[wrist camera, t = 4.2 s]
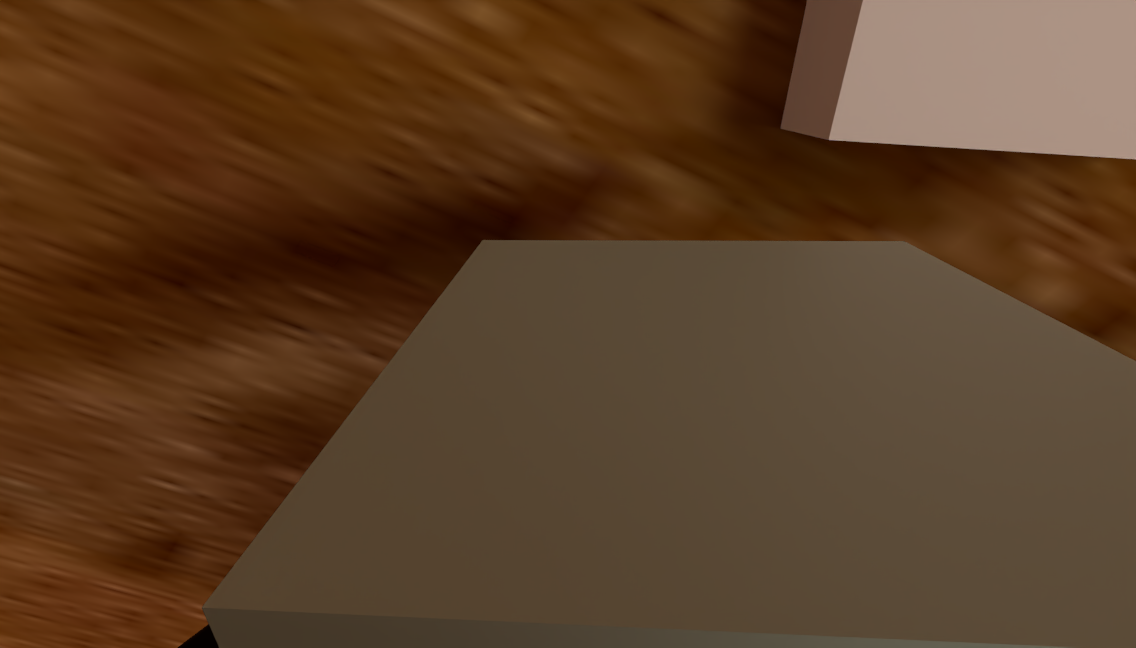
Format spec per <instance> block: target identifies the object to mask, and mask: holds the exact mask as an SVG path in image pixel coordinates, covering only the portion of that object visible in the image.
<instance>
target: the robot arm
mask: <svg viewBox="0 0 1136 648" xmlns="http://www.w3.org/2000/svg"><path fill="white" fill-rule="evenodd" d="M178 648H219V646H218V644H217V641H216V639H215V637H214V635H213V632H212V630H211V628H210V625H209V624H208V625H207V626H206V627H204V628H203V629H202V630H200V631H199V632H198V633H196V634H195V635H194V636H192V637H191V638H190V639H188V640H187V641H186V642H184V643H183V644H182V645H180V646H179V647H178Z"/></svg>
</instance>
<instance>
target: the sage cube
mask: <svg viewBox="0 0 1136 648" xmlns="http://www.w3.org/2000/svg"><path fill="white" fill-rule="evenodd" d="M202 609H203V612H204V614H205V616H206V618H207V621H208V623H209V625H210V628H211V630H212V632H213V635H214V637H215V639H216V641H217V644H218V646H219V648H1136V361H1134V360H1132V359H1130V358H1128V357H1126V356H1124V355H1122V354H1120V353H1119V352H1117V351H1115V350H1113V349H1111V348H1109V347H1107V346H1105V345H1103V344H1101V343H1099V342H1097V341H1095V340H1093V339H1092V338H1090V337H1088V336H1086V335H1084V334H1082V333H1080V332H1078V331H1076V330H1074V329H1072V328H1070V327H1068V326H1066V325H1065V324H1063V323H1061V322H1059V321H1057V320H1055V319H1053V318H1051V317H1049V316H1047V315H1045V314H1043V313H1041V312H1039V311H1038V310H1036V309H1034V308H1032V307H1030V306H1028V305H1026V304H1024V303H1022V302H1020V301H1018V300H1016V299H1014V298H1012V297H1011V296H1009V295H1007V294H1005V293H1003V292H1001V291H999V290H997V289H995V288H993V287H991V286H989V285H987V284H985V283H984V282H982V281H980V280H978V279H976V278H974V277H972V276H970V275H968V274H966V273H964V272H962V271H960V270H958V269H957V268H955V267H953V266H951V265H949V264H947V263H945V262H943V261H941V260H939V259H937V258H935V257H933V256H931V255H930V254H928V253H926V252H924V251H922V250H920V249H918V248H916V247H914V246H912V245H910V244H908V243H906V242H905V241H590V240H482V242H481V243H480V244H479V246H478V247H477V248H476V250H475V251H474V252H473V254H472V255H471V256H470V257H469V259H468V260H467V261H466V263H465V264H464V265H463V267H462V268H461V269H460V271H459V272H458V273H457V274H456V276H455V277H454V278H453V280H452V281H451V282H450V284H449V285H448V286H447V288H446V289H445V290H444V291H443V293H442V294H441V295H440V297H439V298H438V299H437V301H436V302H435V303H434V305H433V306H432V307H431V308H430V310H429V311H428V312H427V314H426V315H425V316H424V318H423V319H422V320H421V322H420V323H419V324H418V325H417V327H416V328H415V329H414V331H413V332H412V333H411V335H410V336H409V337H408V339H407V340H406V341H405V342H404V344H403V345H402V346H401V348H400V349H399V350H398V352H397V353H396V354H395V356H394V357H393V358H392V360H391V361H390V362H389V363H388V365H387V366H386V367H385V369H384V370H383V371H382V373H381V374H380V375H379V377H378V378H377V379H376V380H375V382H374V383H373V384H372V386H371V387H370V388H369V390H368V391H367V392H366V394H365V395H364V396H363V397H362V399H361V400H360V401H359V403H358V404H357V405H356V407H355V408H354V409H353V411H352V412H351V413H350V414H349V416H348V417H347V418H346V420H345V421H344V422H343V424H342V425H341V426H340V428H339V429H338V430H337V431H336V433H335V434H334V435H333V437H332V438H331V439H330V441H329V442H328V443H327V445H326V446H325V447H324V448H323V450H322V451H321V452H320V454H319V455H318V456H317V458H316V459H315V460H314V462H313V463H312V464H311V465H310V467H309V468H308V469H307V471H306V472H305V473H304V475H303V476H302V477H301V479H300V480H299V481H298V482H297V484H296V485H295V486H294V488H293V489H292V490H291V492H290V493H289V494H288V496H287V497H286V498H285V499H284V501H283V502H282V503H281V505H280V506H279V507H278V509H277V510H276V511H275V513H274V514H273V515H272V516H271V518H270V519H269V520H268V522H267V523H266V524H265V526H264V527H263V528H262V530H261V531H260V532H259V534H258V535H257V536H256V537H255V539H254V540H253V541H252V543H251V544H250V545H249V547H248V548H247V549H246V551H245V552H244V553H243V554H242V556H241V557H240V558H239V560H238V561H237V562H236V564H235V565H234V566H233V568H232V569H231V570H230V571H229V573H228V574H227V575H226V577H225V578H224V579H223V581H222V582H221V583H220V585H219V586H218V587H217V588H216V590H215V591H214V592H213V594H212V595H211V596H210V598H209V599H208V600H207V602H206V603H205V604H204V605H203V607H202Z"/></svg>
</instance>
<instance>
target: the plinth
mask: <svg viewBox="0 0 1136 648" xmlns="http://www.w3.org/2000/svg"><path fill="white" fill-rule="evenodd" d="M780 129H784V130H789V131H793V132H797V133H801V134H806V135H810V136H814V137H818V138H822V139H827V140H838V141H854V142H869V143H885V144H901V145H917V146H933V147H949V148H965V149H981V150H997V151H1013V152H1029V153H1045V154H1061V155H1076V156H1092V157H1108V158H1124V159H1136V0H807V3H806V8H805V13H804V17H803V22H802V27H801V32H800V37H799V41H798V46H797V51H796V56H795V60H794V65H793V70H792V75H791V80H790V84H789V89H788V94H787V99H786V103H785V108H784V113H783V118H782V123H781V127H780Z"/></svg>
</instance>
